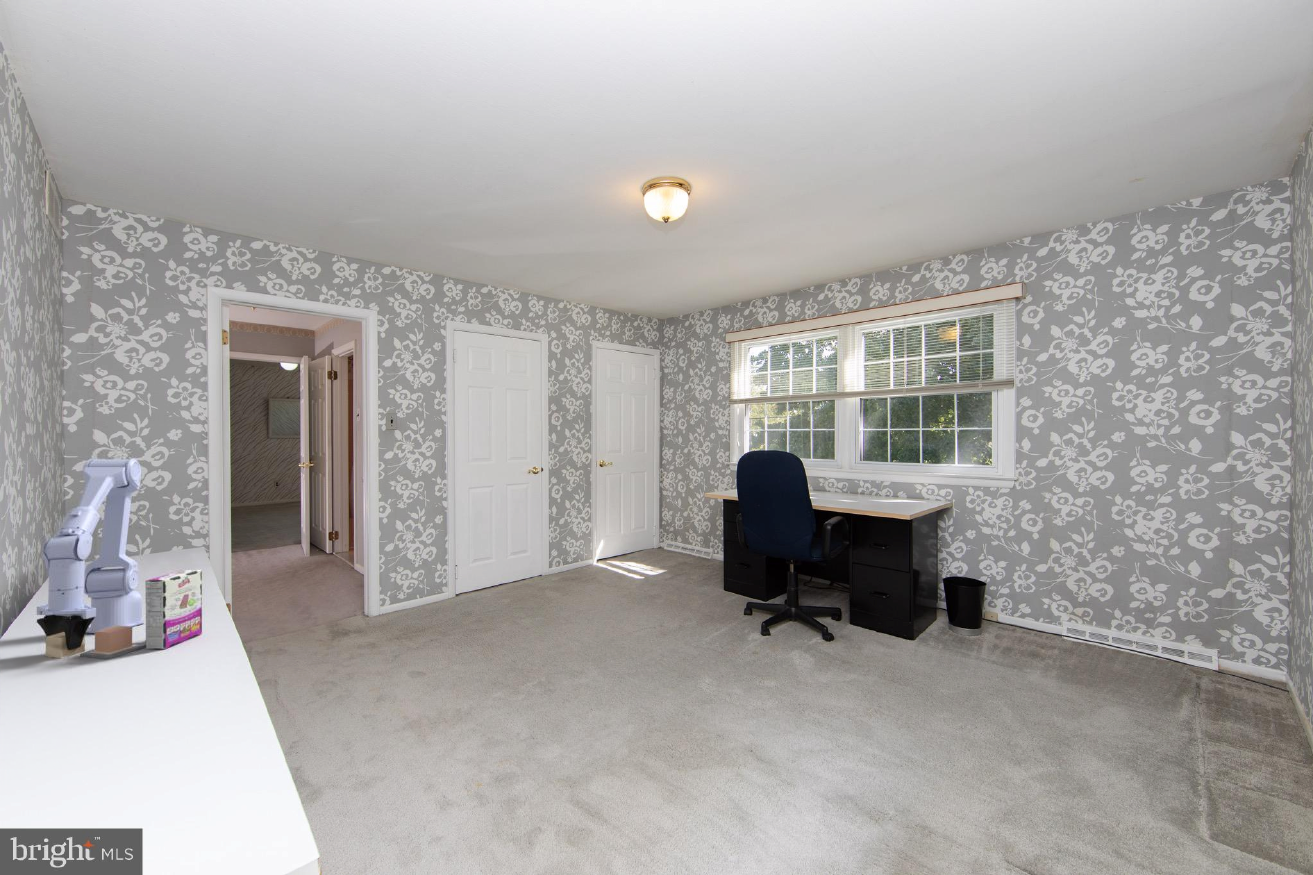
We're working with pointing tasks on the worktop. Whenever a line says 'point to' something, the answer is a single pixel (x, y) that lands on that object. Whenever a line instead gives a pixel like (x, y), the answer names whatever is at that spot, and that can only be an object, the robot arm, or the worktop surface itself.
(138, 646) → the build plate
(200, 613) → the candy bar box
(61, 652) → the maple cube
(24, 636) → the worktop surface
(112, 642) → the terracotta cube
